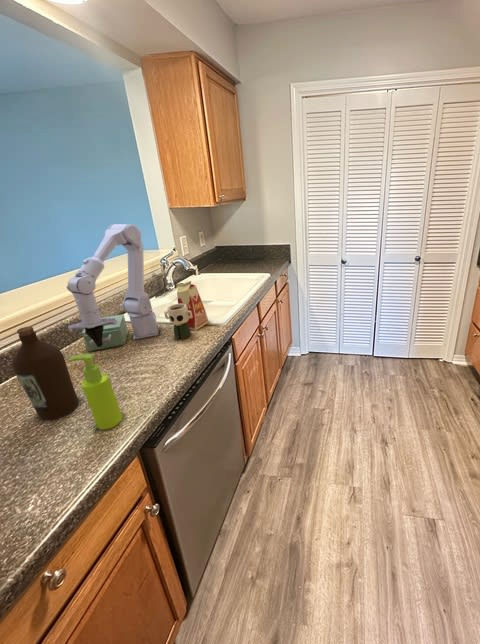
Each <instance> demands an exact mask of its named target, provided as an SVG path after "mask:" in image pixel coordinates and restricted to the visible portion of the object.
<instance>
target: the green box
mask: <svg viewBox="0 0 480 644" xmlns="http://www.w3.org/2000/svg"><path fill="white" fill-rule="evenodd" d="M109 318H116V320H117V324H116V325H113V324H112V325H106V326H104V328H103V331H108V330H113V329H119V333H120V336H121V339H122V344H120V345H115V346H109V347H104V348H99V349H93V350H89V349H88V347H87V344H86V341H85V338H84V335H87V334H86V333H85V329H82V332H81V334H82V338H83V340H84V343H85V347H86V348H87V351H88V352H92V351H98V350H103V349H108V348H113V347H114V348H115V347H119V346H125V345H126V341H127V339H128V334H129V329H128V325H127V322H126V318H125V315H124V314H117V315H110V316H104V317H101V319H109Z"/></svg>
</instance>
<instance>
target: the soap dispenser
mask: <svg viewBox="0 0 480 644" xmlns="http://www.w3.org/2000/svg"><path fill="white" fill-rule="evenodd" d="M95 357H96V354H95V353H81V354H76V355H72V356H71V357H70V358H69V359H68V360H67V362H69V363H72V362H76V361H83V363H84V368H83V369H82V372H83V375H84V379H83V380H82V381H81V384H80V386H81V387H82V390H83V393H84V396H85V398H86V401H87V404H88V407H89V409H90V412H91V414H92V416H93V419H94V423H95V425H96V427H97V428H98V429H99V430H109V429H112V428H114V427H116V426H117V425H119V424H120V423H121V422H122V420H123V414H122V412H121V409H120V406H119V403H118V400H117V398H116V394H115V391H114V389H113V388H114V387H113V386H112V382H111V379H110V376H109V374H107V373H102V371H101V368H100V366H99V364H96V363H94V361H93V359H94V358H95Z"/></svg>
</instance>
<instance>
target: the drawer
mask: <svg viewBox="0 0 480 644" xmlns="http://www.w3.org/2000/svg"><path fill="white" fill-rule="evenodd" d="M84 338H85V340H84V342H85V341H86V343H85V345H86V344H87V346H86V348H87V347H88V349H89V350H93V349H98V350H100V349H99V348H104V347H109V346H114V347H116V346H115V345H119V346H121V345H120V344H122V339H121V336H120V333H119V329H113V330H110V331H104V332H103V334H102V343H103V345H102V347H97V345H96V344H95V342H94V341H93V340H92V339H91V338H90V337H89V336H88V335H84ZM84 338H83V339H84ZM109 348H110V347H109ZM88 349H87V350H88ZM104 349H105V348H104ZM93 351H94V350H93Z"/></svg>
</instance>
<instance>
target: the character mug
mask: <svg viewBox="0 0 480 644" xmlns="http://www.w3.org/2000/svg"><path fill="white" fill-rule="evenodd" d="M166 310H167V311H164V312H163V313H164V318H165V319H166V320H169V322H170V324H172V325H173V334H174V338H175V339H177V340H182V339H187V338H189V337H190V336H191V334H192V332H191V329H189V326H188V324H187V321H188V320H189V318H193V316H192V311H187V306H186V305H185V304H178V303H175V304H171V305H169V306H168V307H167V309H166ZM188 313H190V316H188Z"/></svg>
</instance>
